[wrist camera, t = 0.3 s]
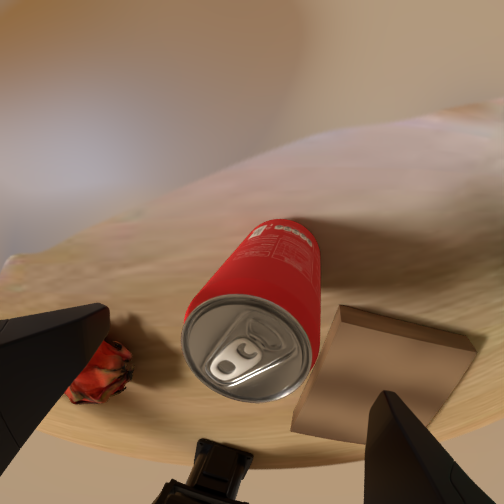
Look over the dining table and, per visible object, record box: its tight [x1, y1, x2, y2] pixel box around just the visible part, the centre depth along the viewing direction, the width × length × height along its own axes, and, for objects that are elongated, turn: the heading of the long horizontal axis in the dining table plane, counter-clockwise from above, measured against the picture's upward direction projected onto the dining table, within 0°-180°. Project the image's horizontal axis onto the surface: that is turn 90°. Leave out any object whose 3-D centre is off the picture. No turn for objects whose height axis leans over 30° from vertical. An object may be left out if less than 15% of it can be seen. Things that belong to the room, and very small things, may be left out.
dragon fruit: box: [64, 340, 134, 404], centre depth 25 cm, size 8×8×12 cm
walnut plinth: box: [290, 305, 477, 445], centre depth 22 cm, size 12×12×2 cm
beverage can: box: [181, 219, 321, 403], centre depth 16 cm, size 5×5×12 cm
